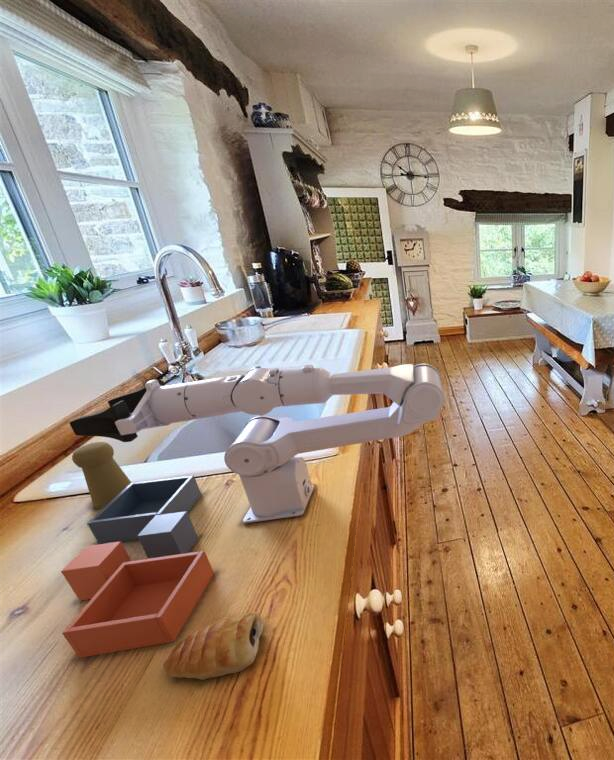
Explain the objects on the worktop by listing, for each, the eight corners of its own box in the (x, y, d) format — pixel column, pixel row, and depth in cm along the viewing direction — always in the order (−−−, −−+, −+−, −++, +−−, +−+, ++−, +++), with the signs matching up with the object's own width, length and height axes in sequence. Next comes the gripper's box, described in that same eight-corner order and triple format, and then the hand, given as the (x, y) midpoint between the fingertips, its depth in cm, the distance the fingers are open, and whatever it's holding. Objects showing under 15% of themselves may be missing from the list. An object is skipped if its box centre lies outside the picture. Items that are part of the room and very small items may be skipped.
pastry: (158, 700, 44) (144, 677, 42) (182, 641, 50) (171, 620, 48) (256, 669, 46) (247, 646, 45) (268, 617, 52) (260, 595, 51)
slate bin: (201, 494, 75) (193, 475, 74) (169, 535, 66) (159, 513, 64) (140, 502, 74) (130, 482, 72) (99, 544, 65) (86, 523, 63)
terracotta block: (136, 569, 60) (121, 541, 58) (115, 595, 56) (98, 565, 54) (102, 574, 59) (86, 545, 57) (79, 601, 55) (60, 571, 53)
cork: (144, 486, 78) (121, 437, 74) (113, 508, 73) (86, 456, 68) (116, 485, 79) (91, 436, 74) (83, 507, 73) (54, 455, 69)
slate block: (198, 538, 65) (186, 511, 63) (183, 559, 61) (170, 531, 59) (168, 542, 65) (155, 515, 63) (151, 564, 61) (136, 536, 59)
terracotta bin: (214, 573, 59) (204, 550, 57) (174, 641, 50) (160, 616, 48) (135, 585, 57) (122, 562, 56) (78, 658, 48) (61, 633, 46)
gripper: (208, 361, 68) (115, 375, 65) (158, 393, 54) (39, 411, 52) (222, 400, 70) (133, 415, 68) (178, 440, 57) (65, 459, 54)
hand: (94, 416), depth 60 cm, fingers open, 7 cm apart
